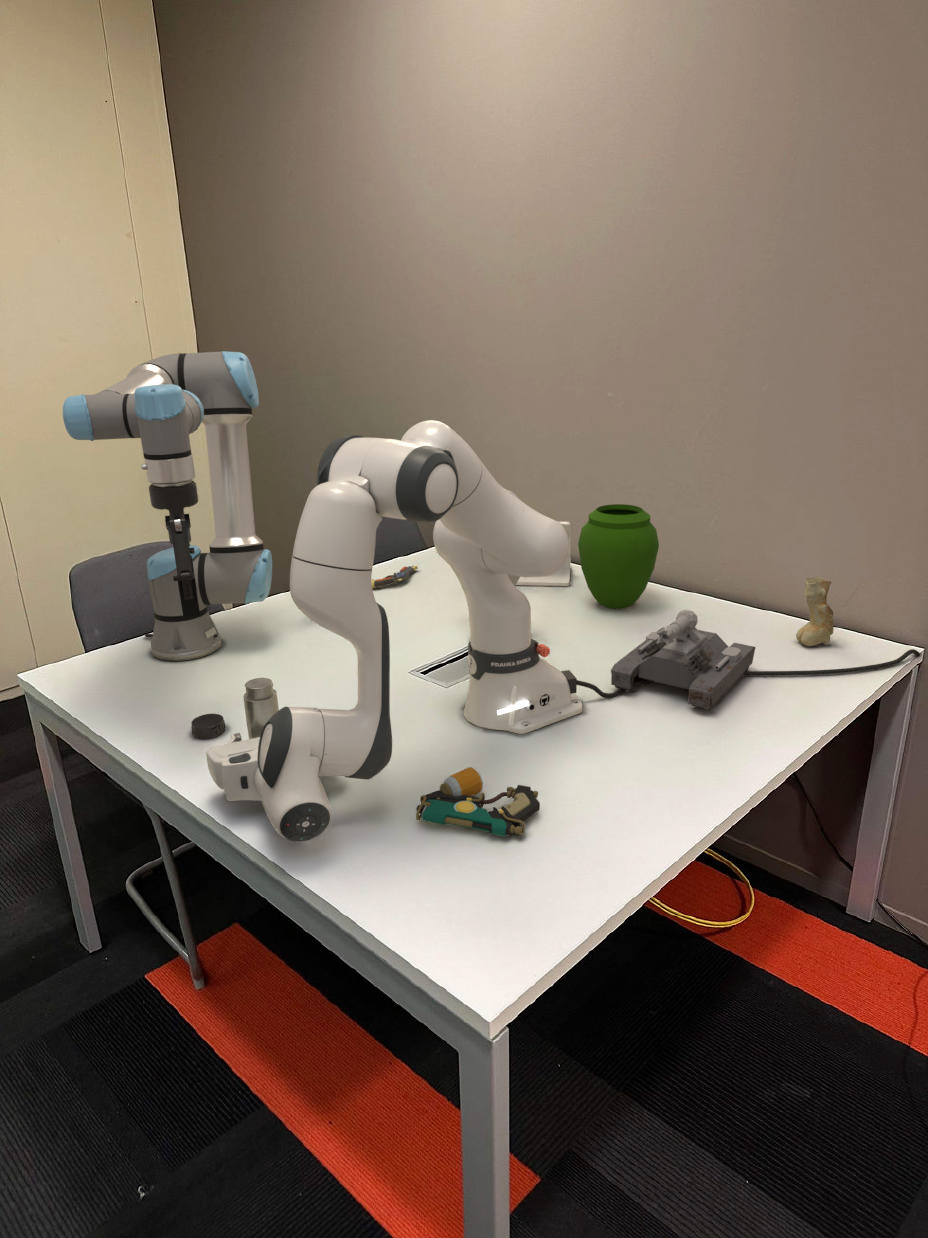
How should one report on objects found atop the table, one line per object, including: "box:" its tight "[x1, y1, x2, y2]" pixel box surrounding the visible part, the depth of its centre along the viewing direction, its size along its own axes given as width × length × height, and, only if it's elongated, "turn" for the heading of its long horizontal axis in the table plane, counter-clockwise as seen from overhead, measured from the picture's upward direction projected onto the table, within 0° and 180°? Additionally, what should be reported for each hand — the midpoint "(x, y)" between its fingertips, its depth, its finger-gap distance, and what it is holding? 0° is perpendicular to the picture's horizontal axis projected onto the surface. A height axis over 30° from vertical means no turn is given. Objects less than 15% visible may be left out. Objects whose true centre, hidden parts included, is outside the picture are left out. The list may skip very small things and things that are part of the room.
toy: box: [610, 609, 756, 711], centre depth 169 cm, size 25×20×15 cm
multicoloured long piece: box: [371, 565, 419, 589], centre depth 238 cm, size 3×19×10 cm
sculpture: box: [795, 576, 835, 647], centre depth 185 cm, size 6×7×15 cm
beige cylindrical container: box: [242, 677, 280, 739], centre depth 142 cm, size 5×5×15 cm
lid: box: [190, 713, 226, 740], centre depth 157 cm, size 6×6×2 cm
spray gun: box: [415, 766, 541, 838], centre depth 128 cm, size 4×17×15 cm
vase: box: [577, 503, 660, 610], centre depth 210 cm, size 20×20×24 cm
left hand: (190, 603), depth 149 cm, fingers open, 13 cm apart
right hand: (264, 731), depth 142 cm, fingers open, 8 cm apart
